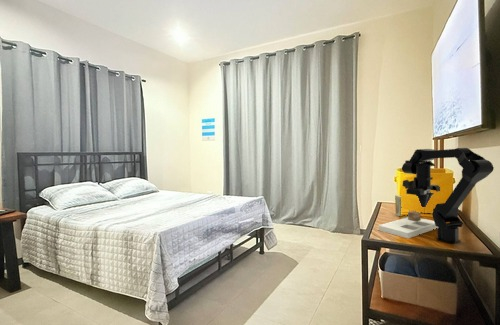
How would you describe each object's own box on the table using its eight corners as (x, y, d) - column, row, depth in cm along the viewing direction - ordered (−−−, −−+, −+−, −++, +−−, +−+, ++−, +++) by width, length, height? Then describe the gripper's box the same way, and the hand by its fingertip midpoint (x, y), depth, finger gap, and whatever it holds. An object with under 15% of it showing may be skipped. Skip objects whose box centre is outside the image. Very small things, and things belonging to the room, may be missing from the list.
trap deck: (440, 227, 128) (440, 222, 128) (408, 238, 115) (408, 233, 115) (410, 220, 141) (410, 216, 141) (378, 230, 127) (378, 225, 127)
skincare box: (406, 214, 153) (405, 194, 153) (409, 216, 149) (409, 196, 149) (394, 214, 154) (394, 195, 153) (398, 216, 150) (398, 196, 149)
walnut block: (420, 220, 133) (420, 212, 133) (415, 221, 131) (415, 213, 131) (412, 218, 137) (412, 211, 136) (408, 219, 135) (408, 212, 135)
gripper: (416, 172, 133) (416, 202, 134) (395, 175, 124) (395, 207, 125) (440, 174, 123) (440, 205, 124) (419, 177, 114) (419, 211, 115)
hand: (423, 207), depth 122 cm, fingers closed
